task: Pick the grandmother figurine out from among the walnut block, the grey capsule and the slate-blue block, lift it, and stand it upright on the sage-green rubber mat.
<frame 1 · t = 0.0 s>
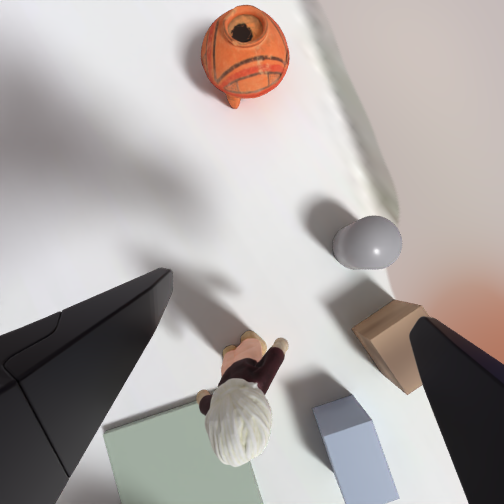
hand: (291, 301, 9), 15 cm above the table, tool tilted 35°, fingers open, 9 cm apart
walnut block: (387, 336, 23), on the table
sage mat: (186, 474, 23), on the table
grandmother figurine: (248, 348, 24), on the table
slate-blue block: (342, 432, 23), on the table
grey capsule: (355, 246, 24), on the table
pot: (247, 84, 25), on the table
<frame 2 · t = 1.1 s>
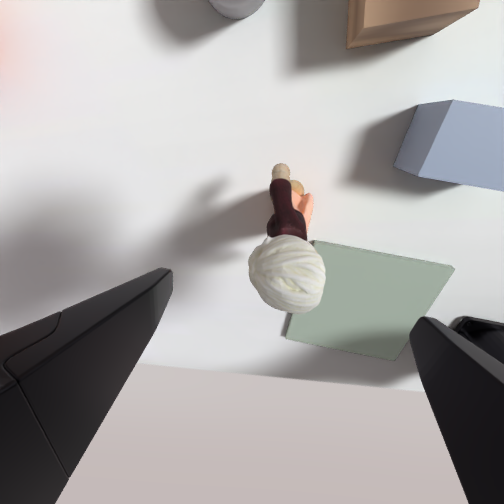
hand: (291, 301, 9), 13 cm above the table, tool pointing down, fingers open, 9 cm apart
sage mat: (357, 304, 24), on the table
grandmother figurine: (288, 200, 21), on the table
slate-blue block: (446, 144, 17), on the table
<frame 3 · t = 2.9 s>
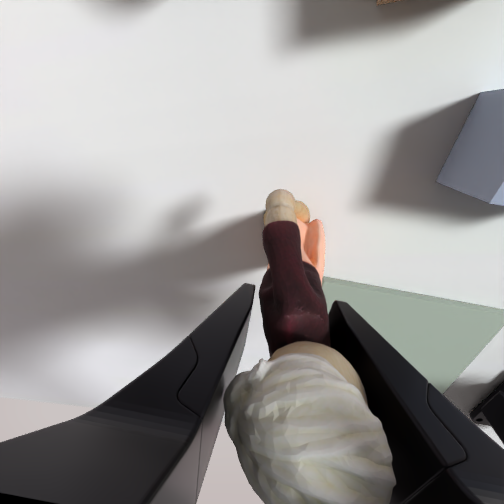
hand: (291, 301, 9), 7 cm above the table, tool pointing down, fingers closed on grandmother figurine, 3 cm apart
sage mat: (377, 353, 19), on the table
grandmother figurine: (288, 226, 15), on the table, touching gripper
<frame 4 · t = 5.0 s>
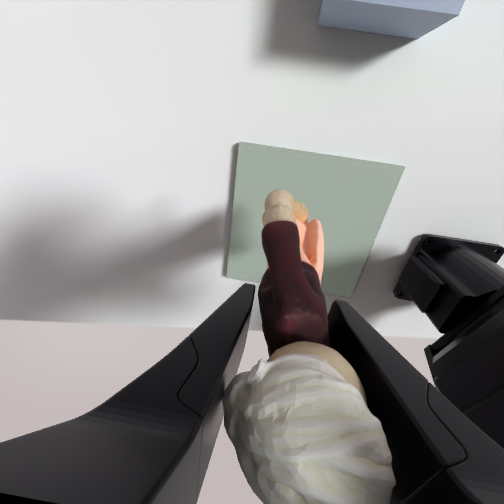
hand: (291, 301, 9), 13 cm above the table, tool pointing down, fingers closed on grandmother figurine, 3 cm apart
sage mat: (301, 227, 21), on the table
grandmother figurine: (287, 226, 15), point 6 cm above the table, touching gripper
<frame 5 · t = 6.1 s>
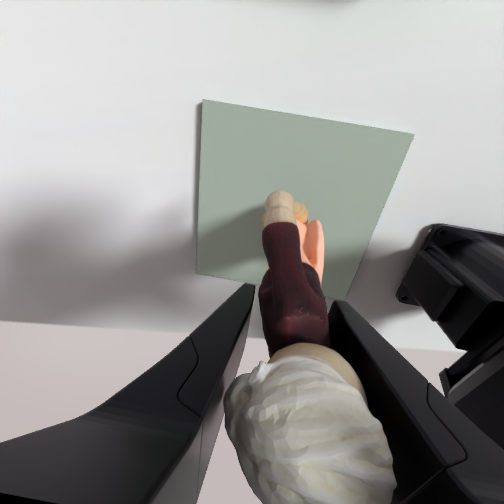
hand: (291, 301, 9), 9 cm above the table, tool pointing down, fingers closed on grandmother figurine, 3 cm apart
sage mat: (285, 213, 17), on the table
grandmother figurine: (287, 227, 15), point 2 cm above the table, touching gripper
when the fingers open (9 cm above the table, at t = 6.9 s): grandmother figurine stays where it is, resting on sage mat.
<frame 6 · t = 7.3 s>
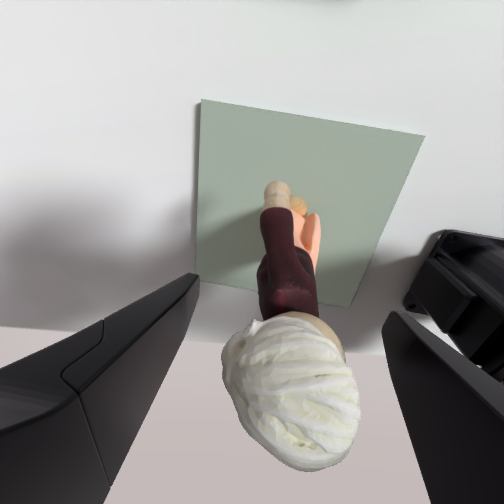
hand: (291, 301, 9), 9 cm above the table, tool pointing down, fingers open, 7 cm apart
sage mat: (287, 218, 16), on the table
grandmother figurine: (287, 220, 16), resting on sage mat
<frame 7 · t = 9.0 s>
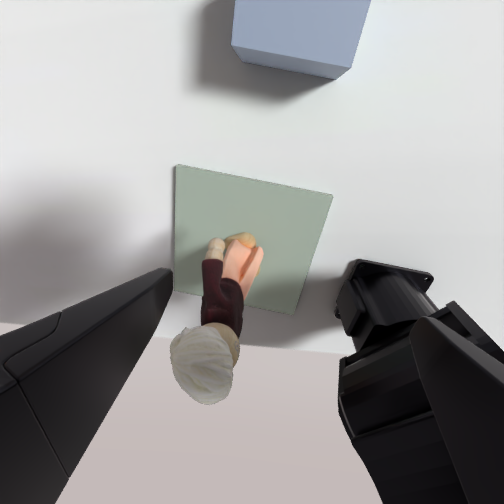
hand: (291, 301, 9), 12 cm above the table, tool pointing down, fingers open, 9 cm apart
sage mat: (243, 247, 22), on the table
grandmother figurine: (242, 249, 21), resting on sage mat
slate-blue block: (297, 30, 15), on the table
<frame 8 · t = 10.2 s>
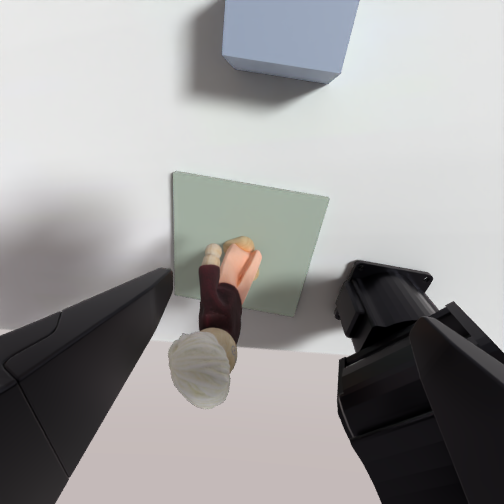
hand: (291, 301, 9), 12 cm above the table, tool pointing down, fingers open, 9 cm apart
sage mat: (241, 250, 22), on the table
grandmother figurine: (241, 252, 21), resting on sage mat
slate-blue block: (287, 36, 15), on the table
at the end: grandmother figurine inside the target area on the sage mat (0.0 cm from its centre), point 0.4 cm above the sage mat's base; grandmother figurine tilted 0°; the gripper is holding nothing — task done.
